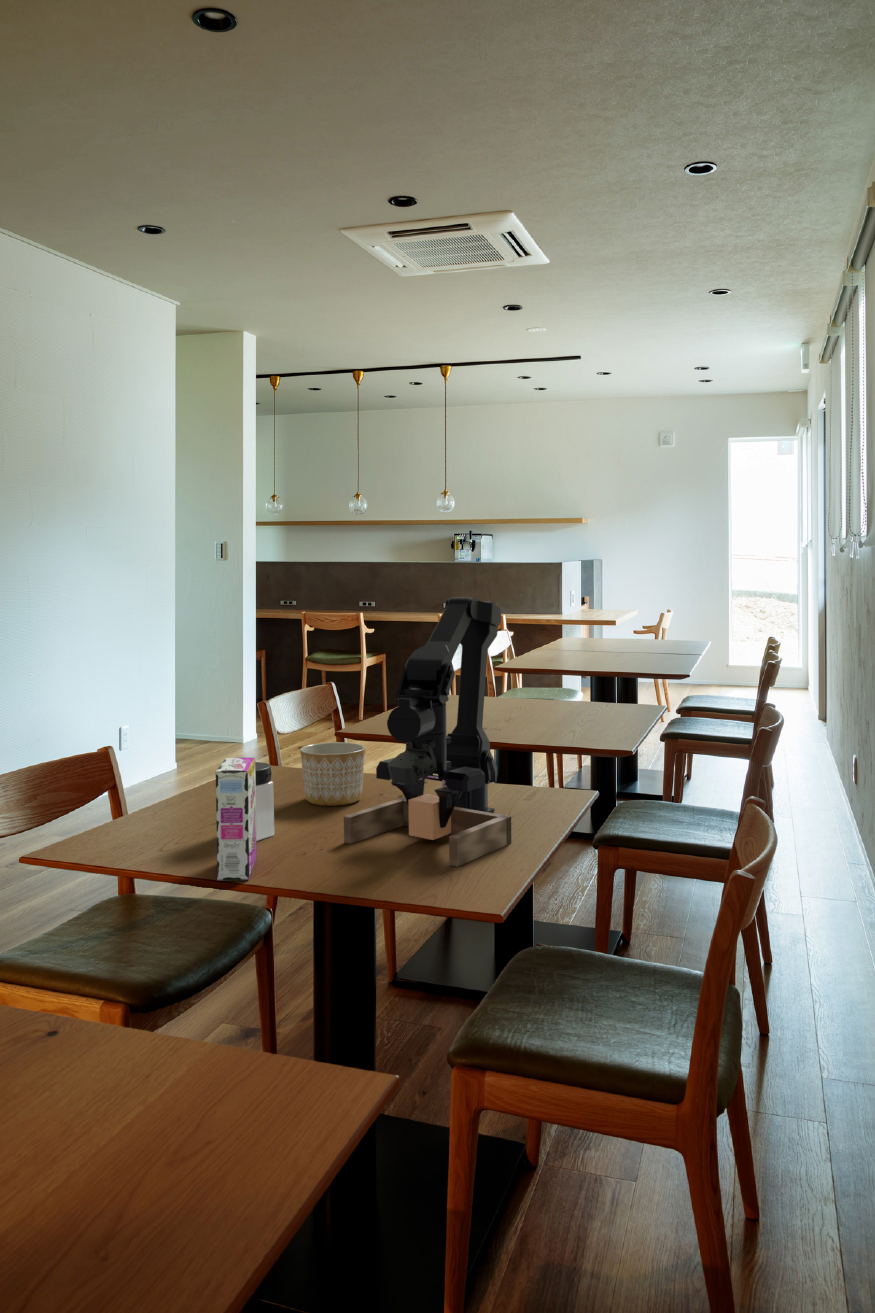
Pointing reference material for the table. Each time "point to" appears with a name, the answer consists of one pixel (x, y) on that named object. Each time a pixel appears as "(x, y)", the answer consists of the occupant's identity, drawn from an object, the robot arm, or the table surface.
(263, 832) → the jar
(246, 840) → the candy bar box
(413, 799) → the terracotta block
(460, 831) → the walnut pen
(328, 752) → the planter
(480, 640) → the robot arm
